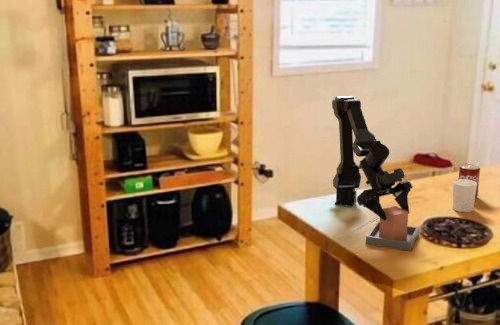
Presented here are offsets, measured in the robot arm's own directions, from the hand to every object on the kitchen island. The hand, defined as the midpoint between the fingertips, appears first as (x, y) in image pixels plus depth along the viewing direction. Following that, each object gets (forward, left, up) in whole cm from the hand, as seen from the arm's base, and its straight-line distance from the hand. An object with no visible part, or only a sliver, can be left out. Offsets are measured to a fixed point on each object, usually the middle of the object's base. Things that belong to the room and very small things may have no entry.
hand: (397, 216), depth 182 cm
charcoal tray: (-1, +1, -8) cm, 8 cm away
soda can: (+16, +51, -8) cm, 54 cm away
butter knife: (-11, +12, -8) cm, 18 cm away
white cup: (+16, +37, -8) cm, 41 cm away
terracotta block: (-1, +1, -7) cm, 7 cm away
